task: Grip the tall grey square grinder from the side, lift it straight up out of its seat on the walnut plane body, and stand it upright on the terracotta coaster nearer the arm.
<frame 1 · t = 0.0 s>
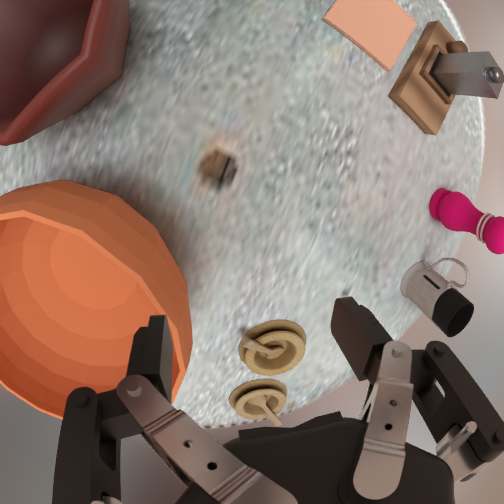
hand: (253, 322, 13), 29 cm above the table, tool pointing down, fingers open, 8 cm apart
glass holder: (418, 268, 53), on the table
bucket: (79, 56, 27), on the table
grey square grinder: (440, 74, 33), point 3 cm above the table, touching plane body
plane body: (428, 74, 36), on the table
bowl: (97, 258, 41), on the table
coaster: (372, 19, 31), on the table
tableware set: (263, 370, 58), on the table
pepper mill: (439, 203, 47), on the table
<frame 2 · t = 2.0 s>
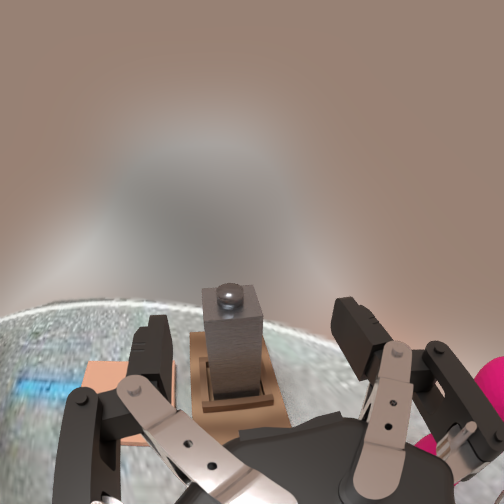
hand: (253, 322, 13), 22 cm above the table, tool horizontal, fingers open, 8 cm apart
grey square grinder: (234, 384, 31), point 3 cm above the table, touching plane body
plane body: (234, 398, 33), on the table
coaster: (125, 402, 30), on the table
pepper mill: (417, 480, 20), on the table
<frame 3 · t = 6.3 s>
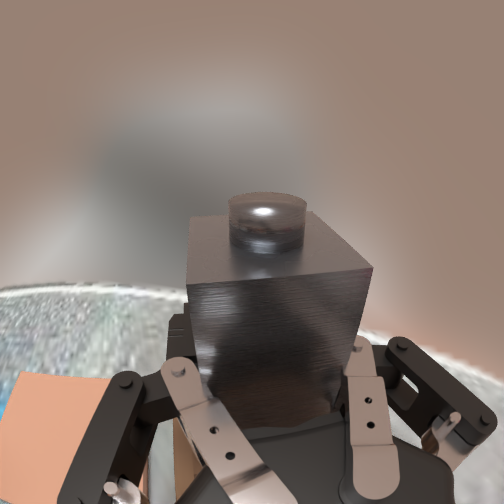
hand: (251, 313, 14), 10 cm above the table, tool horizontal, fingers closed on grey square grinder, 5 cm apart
grey square grinder: (258, 430, 15), point 3 cm above the table, touching gripper, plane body
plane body: (257, 450, 16), on the table
coaster: (65, 447, 14), on the table
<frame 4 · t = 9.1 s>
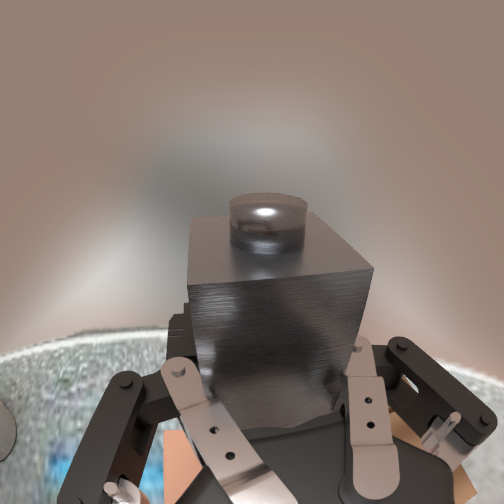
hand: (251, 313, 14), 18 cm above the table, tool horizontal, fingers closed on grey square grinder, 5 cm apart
grey square grinder: (259, 431, 15), point 11 cm above the table, touching gripper
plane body: (383, 453, 21), on the table
coaster: (240, 488, 19), on the table
when the fingers open (9 cm above the table, at t = 11.8 s): grey square grinder drops 1 cm, resting on coaster.
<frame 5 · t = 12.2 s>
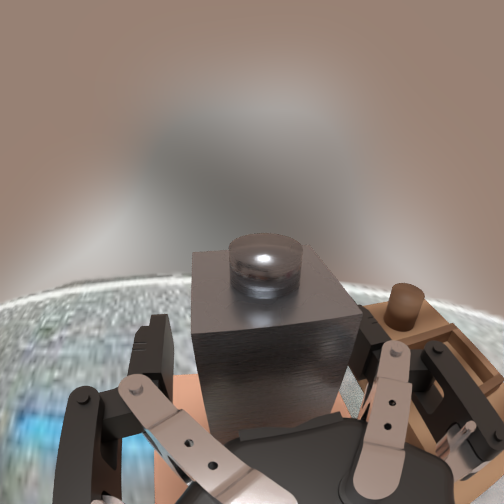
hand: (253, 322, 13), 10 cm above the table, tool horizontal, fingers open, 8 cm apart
grey square grinder: (257, 441, 15), point 1 cm above the table, touching coaster
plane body: (428, 398, 18), on the table
coaster: (257, 448, 16), on the table
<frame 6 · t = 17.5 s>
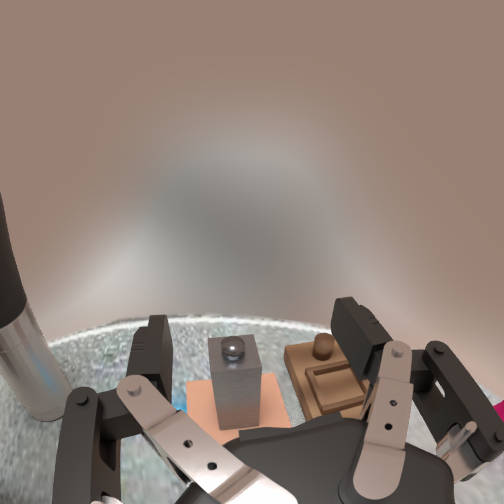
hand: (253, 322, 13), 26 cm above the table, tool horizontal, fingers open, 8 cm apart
grey square grinder: (236, 413, 34), point 1 cm above the table, touching coaster
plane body: (334, 400, 36), on the table
coaster: (236, 417, 34), on the table
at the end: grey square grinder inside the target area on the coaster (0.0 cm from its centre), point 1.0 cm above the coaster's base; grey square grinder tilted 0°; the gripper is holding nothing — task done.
